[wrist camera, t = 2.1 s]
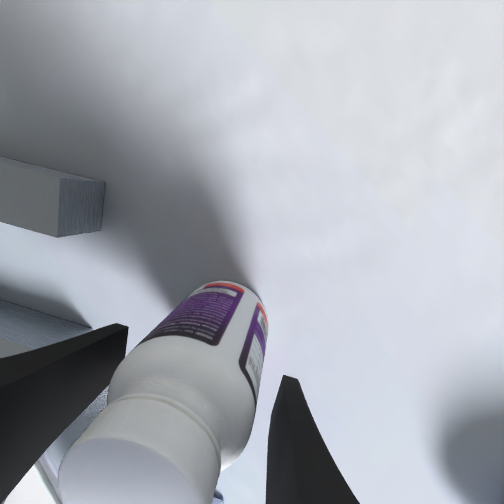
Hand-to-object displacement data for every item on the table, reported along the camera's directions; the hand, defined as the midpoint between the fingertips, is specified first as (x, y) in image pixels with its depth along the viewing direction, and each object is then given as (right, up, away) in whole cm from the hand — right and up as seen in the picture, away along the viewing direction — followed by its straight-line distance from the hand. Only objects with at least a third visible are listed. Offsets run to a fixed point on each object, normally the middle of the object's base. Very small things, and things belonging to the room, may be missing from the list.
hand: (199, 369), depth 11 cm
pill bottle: (+1, +1, +5) cm, 5 cm away
